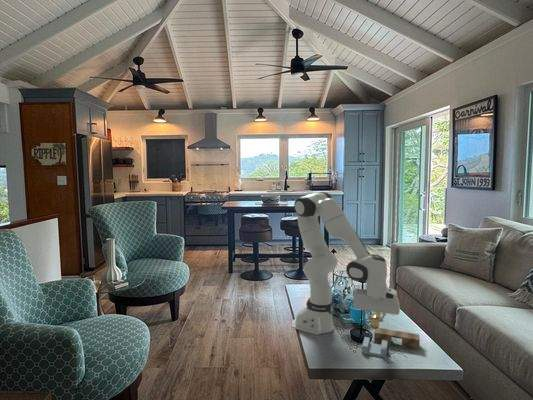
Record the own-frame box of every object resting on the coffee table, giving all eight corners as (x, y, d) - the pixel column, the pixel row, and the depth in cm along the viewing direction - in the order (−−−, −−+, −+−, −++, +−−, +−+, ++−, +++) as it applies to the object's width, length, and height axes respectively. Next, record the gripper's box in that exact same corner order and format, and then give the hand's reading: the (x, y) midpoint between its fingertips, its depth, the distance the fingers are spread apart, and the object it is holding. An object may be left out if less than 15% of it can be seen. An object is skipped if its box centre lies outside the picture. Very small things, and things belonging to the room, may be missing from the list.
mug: (353, 324, 186) (353, 310, 186) (348, 318, 194) (348, 304, 194) (374, 323, 187) (374, 309, 187) (368, 317, 196) (368, 303, 195)
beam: (374, 342, 167) (374, 332, 167) (375, 336, 173) (375, 327, 172) (419, 350, 160) (419, 340, 159) (418, 344, 165) (419, 334, 165)
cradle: (362, 353, 157) (362, 345, 157) (364, 344, 166) (364, 336, 165) (386, 357, 153) (386, 350, 153) (387, 348, 162) (387, 340, 161)
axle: (370, 328, 153) (370, 320, 153) (373, 316, 166) (373, 308, 165) (378, 329, 151) (378, 321, 151) (381, 317, 164) (381, 309, 164)
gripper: (351, 290, 157) (351, 319, 158) (399, 296, 149) (399, 326, 150) (353, 285, 163) (353, 314, 164) (400, 291, 155) (399, 321, 156)
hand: (375, 320), depth 157 cm, fingers closed on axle, 4 cm apart
